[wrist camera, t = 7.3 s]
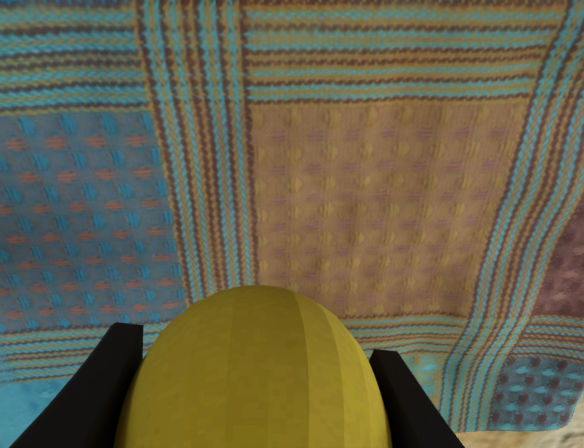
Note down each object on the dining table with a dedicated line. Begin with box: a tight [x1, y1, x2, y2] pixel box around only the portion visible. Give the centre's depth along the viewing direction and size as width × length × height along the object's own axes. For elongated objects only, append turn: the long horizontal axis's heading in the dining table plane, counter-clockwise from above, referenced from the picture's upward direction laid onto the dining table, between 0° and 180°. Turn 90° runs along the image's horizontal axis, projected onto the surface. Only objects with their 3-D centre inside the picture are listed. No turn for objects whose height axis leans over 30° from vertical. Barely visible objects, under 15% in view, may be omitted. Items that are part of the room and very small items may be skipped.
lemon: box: [113, 285, 393, 448], centre depth 9 cm, size 6×6×8 cm
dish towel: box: [0, 0, 584, 448], centre depth 14 cm, size 17×23×2 cm
